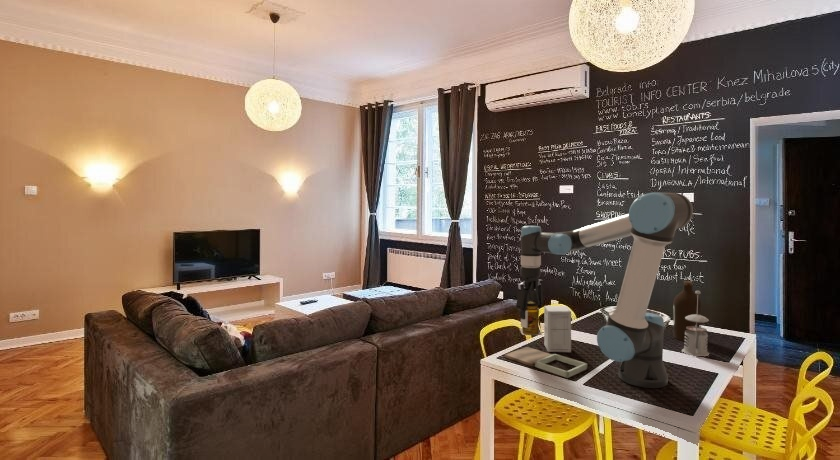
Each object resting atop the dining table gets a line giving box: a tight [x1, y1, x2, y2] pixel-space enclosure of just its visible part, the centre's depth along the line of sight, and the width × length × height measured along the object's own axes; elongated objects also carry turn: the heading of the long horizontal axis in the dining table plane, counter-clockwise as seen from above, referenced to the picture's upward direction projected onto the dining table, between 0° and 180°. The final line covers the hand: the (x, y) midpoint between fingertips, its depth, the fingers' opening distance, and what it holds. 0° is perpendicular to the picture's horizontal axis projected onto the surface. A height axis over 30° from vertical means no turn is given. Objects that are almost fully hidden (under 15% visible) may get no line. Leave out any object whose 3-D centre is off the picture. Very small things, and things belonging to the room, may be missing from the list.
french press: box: [681, 290, 710, 357], centre depth 180 cm, size 10×12×25 cm
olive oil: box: [672, 280, 703, 342], centre depth 199 cm, size 11×11×25 cm
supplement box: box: [543, 305, 572, 353], centre depth 188 cm, size 10×9×17 cm
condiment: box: [518, 300, 543, 336], centre depth 178 cm, size 7×8×12 cm
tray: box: [534, 353, 588, 379], centre depth 168 cm, size 14×13×2 cm
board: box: [504, 346, 553, 367], centre depth 178 cm, size 13×14×1 cm
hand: (529, 325), depth 177 cm, fingers closed on condiment, 6 cm apart
